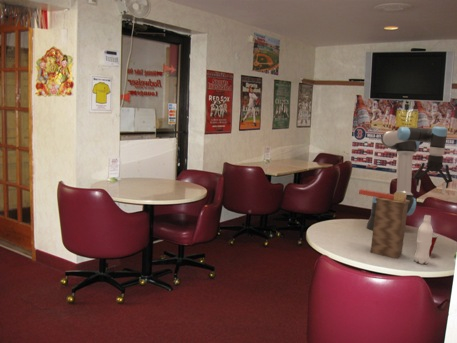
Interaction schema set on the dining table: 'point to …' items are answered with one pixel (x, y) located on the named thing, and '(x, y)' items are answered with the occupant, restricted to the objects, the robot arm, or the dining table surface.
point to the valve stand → (389, 227)
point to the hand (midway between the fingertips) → (430, 192)
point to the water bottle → (424, 241)
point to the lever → (385, 195)
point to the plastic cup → (432, 242)
